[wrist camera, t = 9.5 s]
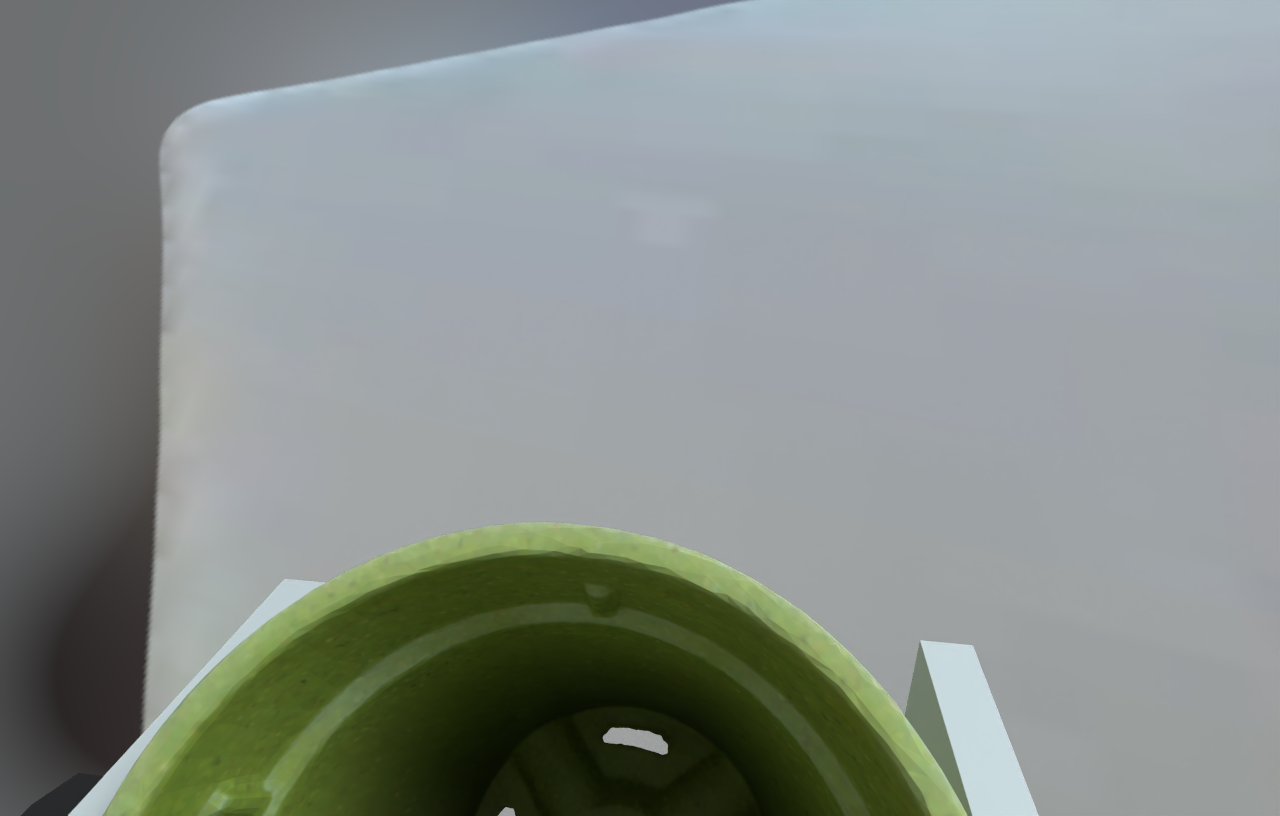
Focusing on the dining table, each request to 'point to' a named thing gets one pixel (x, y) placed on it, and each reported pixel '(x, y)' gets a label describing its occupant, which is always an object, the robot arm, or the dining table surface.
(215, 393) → the dining table surface
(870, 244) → the dining table surface
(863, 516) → the dining table surface
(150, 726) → the robot arm
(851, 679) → the plant pot
